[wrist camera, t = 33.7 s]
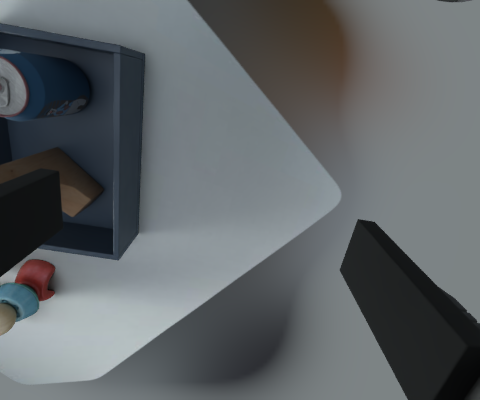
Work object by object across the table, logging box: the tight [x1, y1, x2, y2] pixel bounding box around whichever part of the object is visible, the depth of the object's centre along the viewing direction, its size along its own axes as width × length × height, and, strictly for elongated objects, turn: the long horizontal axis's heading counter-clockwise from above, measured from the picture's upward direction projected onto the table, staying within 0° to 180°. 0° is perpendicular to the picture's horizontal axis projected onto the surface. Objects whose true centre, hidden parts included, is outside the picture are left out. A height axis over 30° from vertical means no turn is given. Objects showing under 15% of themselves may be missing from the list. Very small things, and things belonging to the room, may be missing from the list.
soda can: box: [0, 49, 90, 121], centre depth 33 cm, size 7×7×12 cm
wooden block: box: [0, 147, 104, 217], centre depth 35 cm, size 9×4×18 cm, turn 41°
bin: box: [0, 23, 145, 260], centre depth 38 cm, size 28×20×8 cm
